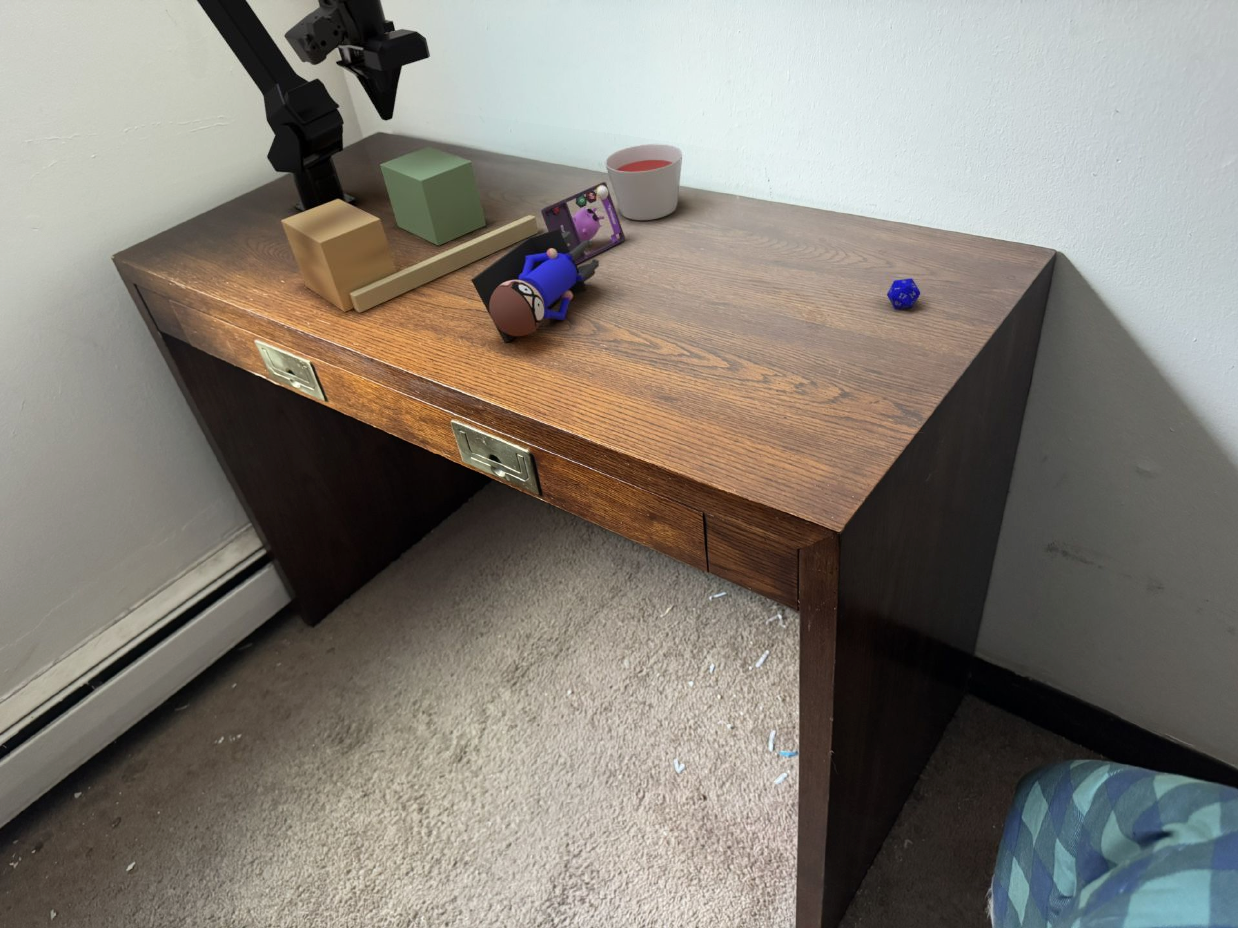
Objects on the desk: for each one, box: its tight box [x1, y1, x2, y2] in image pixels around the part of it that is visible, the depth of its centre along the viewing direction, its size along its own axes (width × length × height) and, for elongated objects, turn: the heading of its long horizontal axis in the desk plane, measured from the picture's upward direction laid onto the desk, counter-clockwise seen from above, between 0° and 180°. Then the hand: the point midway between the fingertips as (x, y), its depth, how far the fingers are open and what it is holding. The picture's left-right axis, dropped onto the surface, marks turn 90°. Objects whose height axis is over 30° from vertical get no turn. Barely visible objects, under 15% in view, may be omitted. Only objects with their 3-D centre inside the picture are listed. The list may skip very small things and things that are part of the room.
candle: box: [604, 143, 683, 221], centre depth 103 cm, size 9×9×6 cm
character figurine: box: [470, 229, 600, 343], centre depth 84 cm, size 8×7×15 cm
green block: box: [379, 146, 487, 247], centre depth 106 cm, size 10×7×8 cm
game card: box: [540, 181, 626, 265], centre depth 97 cm, size 7×5×9 cm
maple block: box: [280, 199, 397, 313], centre depth 95 cm, size 10×7×8 cm
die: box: [886, 277, 921, 310], centre depth 79 cm, size 3×3×3 cm
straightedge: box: [350, 214, 539, 314], centre depth 98 cm, size 1×24×2 cm, turn 131°
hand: (387, 119), depth 106 cm, fingers closed
